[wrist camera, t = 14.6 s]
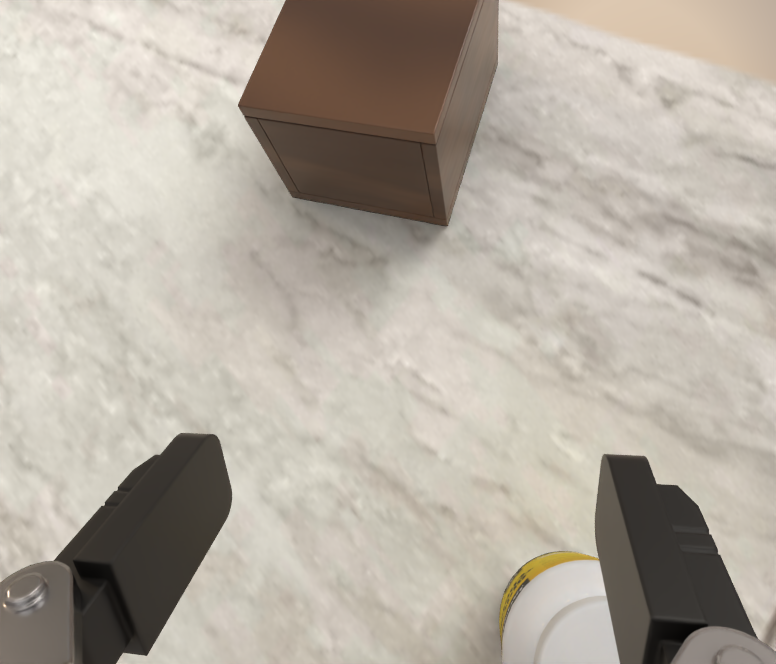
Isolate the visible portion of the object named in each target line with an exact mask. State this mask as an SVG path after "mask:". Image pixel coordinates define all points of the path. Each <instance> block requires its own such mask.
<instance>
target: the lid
mask: <svg viewBox="0 0 776 664" xmlns="http://www.w3.org/2000/svg"><path fill="white" fill-rule="evenodd" d="M482 3H483V0H286V1H285V3H284V5H283V7H282V10H281V12H280V14H279V16H278V18H277V20H276V23H275V25H274V27H273V29H272V31H271V34H270V36H269V38H268V40H267V42H266V45H265V47H264V49H263V51H262V53H261V55H260V58H259V60H258V62H257V64H256V66H255V69H254V71H253V73H252V75H251V77H250V79H249V82H248V84H247V86H246V88H245V90H244V93H243V95H242V97H241V99H240V101H239V104H238V107H239V109H240V110H241V112H242V114H243V115H244V116H250V117H257V118H263V119H270V120H276V121H283V122H290V123H296V124H303V125H310V126H316V127H323V128H329V129H336V130H343V131H349V132H356V133H362V134H369V135H376V136H382V137H389V138H396V139H402V140H409V141H415V142H422V143H429V144H436V142H437V139H438V136H439V133H440V130H441V127H442V124H443V121H444V118H445V115H446V112H447V109H448V106H449V103H450V100H451V97H452V94H453V91H454V88H455V85H456V82H457V79H458V76H459V73H460V70H461V67H462V64H463V61H464V58H465V55H466V51H467V48H468V45H469V42H470V39H471V36H472V33H473V30H474V27H475V24H476V21H477V18H478V15H479V12H480V9H481V6H482Z"/></svg>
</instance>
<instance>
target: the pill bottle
mask: <svg viewBox="0 0 776 664" xmlns="http://www.w3.org/2000/svg"><path fill="white" fill-rule="evenodd" d="M499 626H500V637H501V650H502V663H503V664H620V661H619V656H618V651H617V646H616V641H615V636H614V631H613V626H612V621H611V616H610V611H609V606H608V601H607V596H606V591H605V586H604V581H603V576H602V572H601V567H600V562H599V559H598V558H595V557H591V556H588V555H585V554H581V553H576V552H568V551H558V552H551V553H546V554H543V555H541V556H538V557H536V558H534V559H532V560H530V561H529V562H527V563H526V564H525V565H523V566H522V567H521V568H520V569H519V570H518V572H517V573H516V574H515V575H514V576H513V577H512V579H511V580H510V582H509V584H508V586H507V588H506V589H505V592H504V595H503V598H502V602H501V607H500V616H499Z"/></svg>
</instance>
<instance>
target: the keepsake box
mask: <svg viewBox="0 0 776 664" xmlns="http://www.w3.org/2000/svg"><path fill="white" fill-rule="evenodd" d="M498 3H499V0H483V3H482V6H481V9H480V12H479V15H478V18H477V21H476V24H475V27H474V30H473V33H472V36H471V39H470V42H469V45H468V48H467V51H466V55H465V58H464V61H463V64H462V67H461V70H460V73H459V76H458V79H457V82H456V85H455V88H454V91H453V94H452V97H451V100H450V103H449V106H448V109H447V112H446V115H445V118H444V121H443V124H442V127H441V130H440V133H439V136H438V139H437V142H436V144H429V143H422V142H415V141H409V140H402V139H396V138H389V137H382V136H376V135H369V134H362V133H356V132H349V131H343V130H336V129H329V128H323V127H316V126H310V125H303V124H296V123H290V122H283V121H276V120H270V119H263V118H257V117H250V116H244V117H245V119H246V121H247V122H248V124H249V126H250V127H251V129H252V131H253V132H254V134H255V136H256V137H257V139H258V141H259V142H260V144H261V146H262V147H263V149H264V151H265V152H266V154H267V156H268V157H269V159H270V161H271V162H272V164H273V166H274V167H275V169H276V171H277V172H278V174H279V176H280V177H281V179H282V181H283V182H284V184H285V186H286V187H287V189H288V190H289V192H290V194H291V196H292V197H295V198H300V199H305V200H311V201H316V202H321V203H327V204H332V205H337V206H343V207H348V208H353V209H358V210H364V211H369V212H374V213H380V214H385V215H390V216H396V217H401V218H406V219H412V220H417V221H422V222H427V223H433V224H438V225H443V226H448V223H449V220H450V217H451V213H452V210H453V207H454V204H455V201H456V197H457V194H458V191H459V188H460V184H461V181H462V178H463V175H464V171H465V168H466V165H467V162H468V158H469V155H470V152H471V149H472V145H473V142H474V139H475V136H476V132H477V129H478V126H479V123H480V120H481V116H482V113H483V110H484V107H485V103H486V100H487V97H488V94H489V90H490V87H491V84H492V81H493V77H494V74H495V71H496V68H497V64H498Z"/></svg>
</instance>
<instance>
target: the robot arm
mask: <svg viewBox="0 0 776 664" xmlns="http://www.w3.org/2000/svg"><path fill="white" fill-rule="evenodd" d="M231 503H232V489H231V485H230V481H229V476H228V472H227V468H226V464H225V460H224V456H223V452H222V448H221V444H220V441H219V439H218V437H217V436H216V435H213V434H194V433H180V434H178V435H177V436H176V437H175V438H174V439H173V440H172V442H171V443H170V444H169V445H168V446H167V448H166V449H165V450H164V451H163V452H162V454H161V455H154V456H153V457H151V458H150V459H149V460H147V461H146V462H144V463H143V464H141V465H140V466H138V467H137V468H135V469H134V470H133V471H132V472H131V473H130V474H129V475H128V476H127V478H126V479H125V480H124V481H123V482H122V483H121V484H120V486H119V487H118V490H117V491H114V492H113V494H112V495H111V496H110V497H109V498H108V499H107V500H106V502H105V506H101V507H100V508H99V510H98V511H97V512H96V513H95V514H94V515H93V516H92V518H91V519H90V520H89V521H88V522H87V523H86V524H85V526H84V527H83V528H82V529H81V530H80V531H79V532H78V534H77V535H76V536H75V537H74V538H73V539H72V540H71V542H70V543H69V544H68V545H67V546H66V547H65V548H64V550H63V551H62V552H61V553H60V554H59V555H58V556H57V558H56V559H55V560H54V561H45V562H40V563H36V564H33V565H30V566H27V567H25V568H23V569H21V570H19V571H17V572H15V573H13V574H12V575H10V576H9V577H7V578H6V579H4V580H3V581H2V582H0V664H116V663H117V661H118V660H119V658H120V656H121V655H122V653H130V654H138V655H145V656H147V655H148V653H149V651H150V650H151V648H152V646H153V644H154V643H155V641H156V639H157V638H158V636H159V634H160V632H161V631H162V629H163V627H164V626H165V624H166V622H167V620H168V619H169V617H170V615H171V614H172V612H173V610H174V608H175V607H176V605H177V603H178V601H179V600H180V598H181V596H182V595H183V593H184V591H185V589H186V588H187V586H188V584H189V583H190V581H191V579H192V577H193V576H194V574H195V572H196V571H197V569H198V567H199V565H200V564H201V562H202V560H203V559H204V557H205V555H206V553H207V552H208V550H209V548H210V547H211V545H212V543H213V541H214V540H215V538H216V536H217V535H218V533H219V531H220V529H221V528H222V526H223V524H224V523H225V521H226V519H227V517H228V515H229V512H230V508H231ZM595 537H596V546H597V552H598V557H599V562H600V567H601V572H602V576H603V581H604V586H605V591H606V596H607V601H608V606H609V611H610V616H611V621H612V626H613V631H614V636H615V641H616V646H617V651H618V656H619V661H620V664H776V652H775V651H774V650H773V649H772V648H770V647H769V646H768V645H766V644H765V643H763V642H762V641H760V640H759V639H758V638H757V636H756V634H755V632H754V630H753V628H752V626H751V623H750V621H749V619H748V617H747V614H746V612H745V610H744V608H743V605H742V603H741V601H740V599H739V596H738V594H737V592H736V590H735V587H734V585H733V583H732V581H731V578H730V576H729V574H728V572H727V569H726V567H725V565H724V563H723V560H722V558H721V556H720V555H718V549H717V547H716V545H715V542H714V540H713V538H712V536H711V535H710V534H709V529H708V527H707V524H706V522H705V520H704V518H703V515H702V513H701V511H700V509H699V506H698V505H697V504H696V503H695V502H694V501H693V500H692V499H691V498H690V497H688V496H687V495H686V494H685V493H684V492H683V491H682V490H681V489H680V488H679V487H678V486H677V485H661V484H656V481H655V478H654V476H653V473H652V470H651V468H650V465H649V462H648V460H647V458H646V457H645V456H632V455H611V454H604V455H603V457H602V460H601V468H600V477H599V486H598V494H597V503H596V512H595Z"/></svg>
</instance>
